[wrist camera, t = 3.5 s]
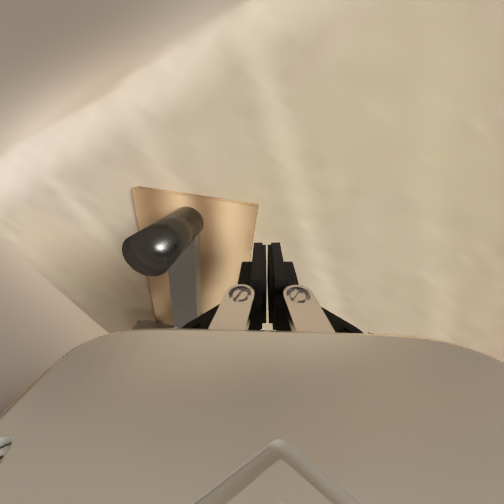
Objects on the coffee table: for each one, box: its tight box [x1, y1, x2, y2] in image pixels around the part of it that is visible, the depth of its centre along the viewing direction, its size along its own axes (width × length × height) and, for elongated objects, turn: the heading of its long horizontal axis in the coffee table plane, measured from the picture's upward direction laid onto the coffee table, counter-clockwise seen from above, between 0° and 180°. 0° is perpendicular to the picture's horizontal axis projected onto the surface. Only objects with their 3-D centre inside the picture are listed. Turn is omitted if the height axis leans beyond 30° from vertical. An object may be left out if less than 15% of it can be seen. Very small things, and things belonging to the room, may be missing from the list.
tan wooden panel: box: [131, 186, 258, 325], centre depth 24 cm, size 13×30×5 cm, turn 173°
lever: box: [122, 206, 204, 330], centre depth 19 cm, size 10×20×8 cm, turn 173°
